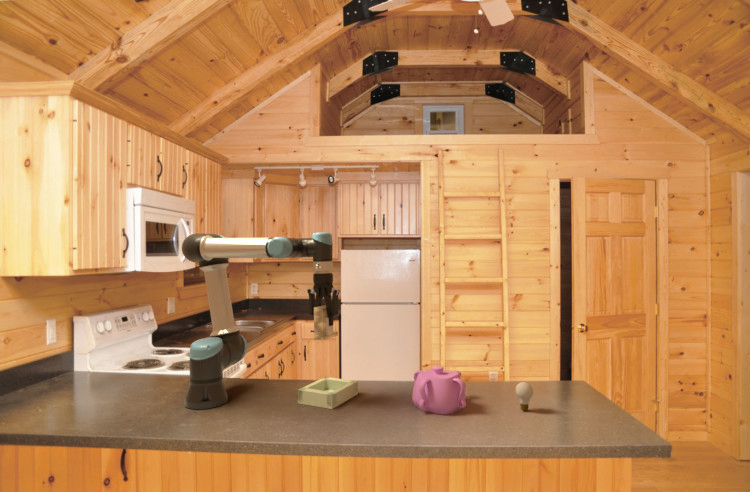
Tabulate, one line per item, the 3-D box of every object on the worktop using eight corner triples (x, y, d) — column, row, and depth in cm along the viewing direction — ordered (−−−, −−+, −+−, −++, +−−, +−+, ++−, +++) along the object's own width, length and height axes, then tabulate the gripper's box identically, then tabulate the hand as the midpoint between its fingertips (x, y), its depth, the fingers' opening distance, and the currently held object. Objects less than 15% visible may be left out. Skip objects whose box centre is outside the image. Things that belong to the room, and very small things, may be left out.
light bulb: (533, 408, 158) (532, 380, 158) (533, 414, 152) (533, 385, 153) (515, 407, 160) (515, 379, 160) (515, 412, 154) (515, 383, 154)
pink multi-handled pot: (413, 415, 153) (413, 373, 153) (411, 395, 173) (411, 359, 174) (469, 416, 152) (468, 374, 152) (461, 396, 172) (460, 359, 173)
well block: (297, 403, 166) (297, 389, 166) (325, 388, 183) (325, 376, 183) (331, 409, 159) (331, 395, 159) (357, 393, 176) (357, 381, 176)
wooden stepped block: (314, 339, 167) (313, 307, 167) (329, 334, 176) (328, 304, 176) (323, 340, 165) (322, 307, 165) (337, 335, 174) (337, 304, 174)
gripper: (299, 273, 170) (299, 334, 170) (336, 273, 162) (337, 337, 162) (310, 272, 177) (311, 330, 177) (347, 272, 169) (348, 333, 169)
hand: (324, 333), depth 169 cm, fingers closed on wooden stepped block, 4 cm apart
